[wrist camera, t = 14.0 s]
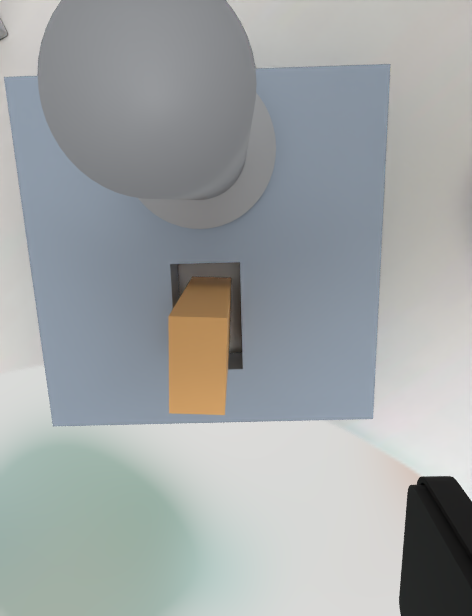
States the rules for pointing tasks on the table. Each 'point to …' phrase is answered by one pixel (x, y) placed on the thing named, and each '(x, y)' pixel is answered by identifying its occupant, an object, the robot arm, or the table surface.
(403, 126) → the table surface
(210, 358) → the orange rectangular block
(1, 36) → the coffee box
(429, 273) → the table surface
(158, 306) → the grey base with post
